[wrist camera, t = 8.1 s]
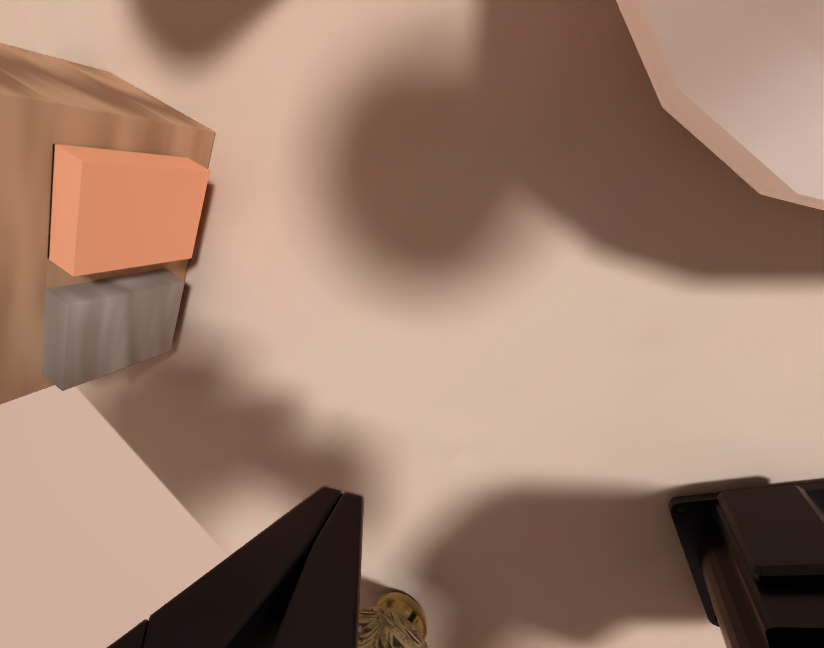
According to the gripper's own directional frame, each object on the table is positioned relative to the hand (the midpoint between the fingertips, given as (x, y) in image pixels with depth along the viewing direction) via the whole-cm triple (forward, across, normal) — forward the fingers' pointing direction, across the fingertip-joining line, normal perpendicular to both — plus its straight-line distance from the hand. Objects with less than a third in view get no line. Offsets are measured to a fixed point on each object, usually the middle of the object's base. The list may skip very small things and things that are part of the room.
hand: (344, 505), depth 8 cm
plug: (+14, +18, -3) cm, 23 cm away
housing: (+16, +19, 0) cm, 25 cm away
